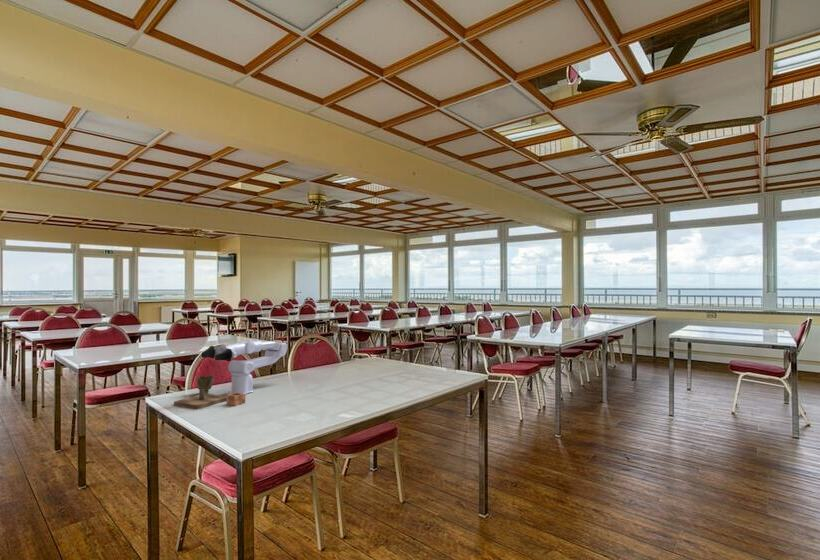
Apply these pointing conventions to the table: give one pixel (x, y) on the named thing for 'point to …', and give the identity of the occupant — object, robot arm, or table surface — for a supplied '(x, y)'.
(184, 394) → the table surface
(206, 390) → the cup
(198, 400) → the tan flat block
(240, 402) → the hollow wooden block
